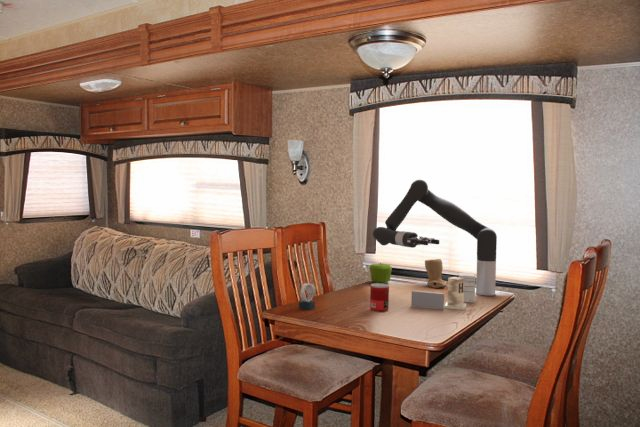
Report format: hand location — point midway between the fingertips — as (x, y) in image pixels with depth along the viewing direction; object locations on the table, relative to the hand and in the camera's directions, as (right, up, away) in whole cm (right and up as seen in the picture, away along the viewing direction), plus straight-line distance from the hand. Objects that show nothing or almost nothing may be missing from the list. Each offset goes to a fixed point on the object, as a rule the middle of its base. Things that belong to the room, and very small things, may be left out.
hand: (433, 242), depth 246 cm
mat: (+7, -28, -11) cm, 31 cm away
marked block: (+7, -27, -11) cm, 31 cm away
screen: (-6, -28, -14) cm, 32 cm away
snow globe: (-59, -28, -18) cm, 68 cm away
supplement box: (+16, -28, +3) cm, 32 cm away
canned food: (-28, -28, -19) cm, 44 cm away
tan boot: (+10, -26, +40) cm, 49 cm away
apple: (-19, -25, +47) cm, 57 cm away
